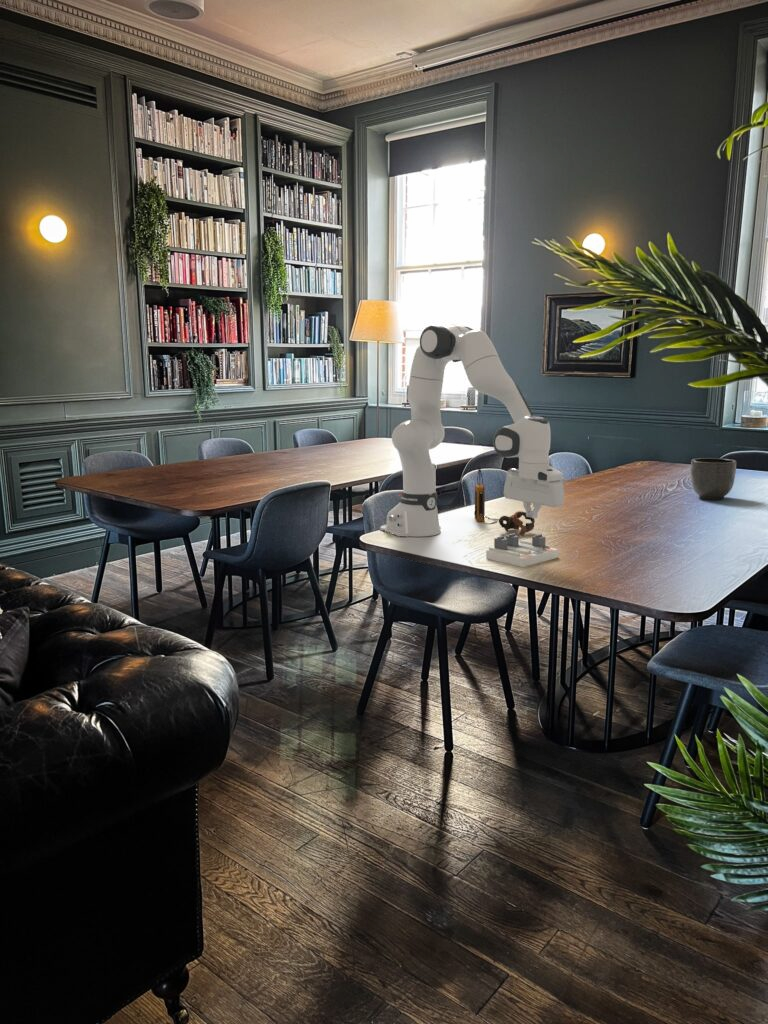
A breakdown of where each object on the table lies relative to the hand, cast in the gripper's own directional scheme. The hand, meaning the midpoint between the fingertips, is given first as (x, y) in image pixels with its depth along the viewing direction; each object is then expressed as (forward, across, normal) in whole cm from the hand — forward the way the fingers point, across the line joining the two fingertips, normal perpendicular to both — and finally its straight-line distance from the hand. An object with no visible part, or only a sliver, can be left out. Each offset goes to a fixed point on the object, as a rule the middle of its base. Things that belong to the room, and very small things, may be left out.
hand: (531, 517), depth 228 cm
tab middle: (+9, -3, -5) cm, 11 cm away
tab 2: (+9, +3, 0) cm, 9 cm away
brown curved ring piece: (+12, -24, +21) cm, 34 cm away
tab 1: (+9, -3, -10) cm, 14 cm away
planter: (+11, -11, +129) cm, 130 cm away
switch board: (+12, +1, -4) cm, 12 cm away
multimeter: (+13, -44, +30) cm, 55 cm away
